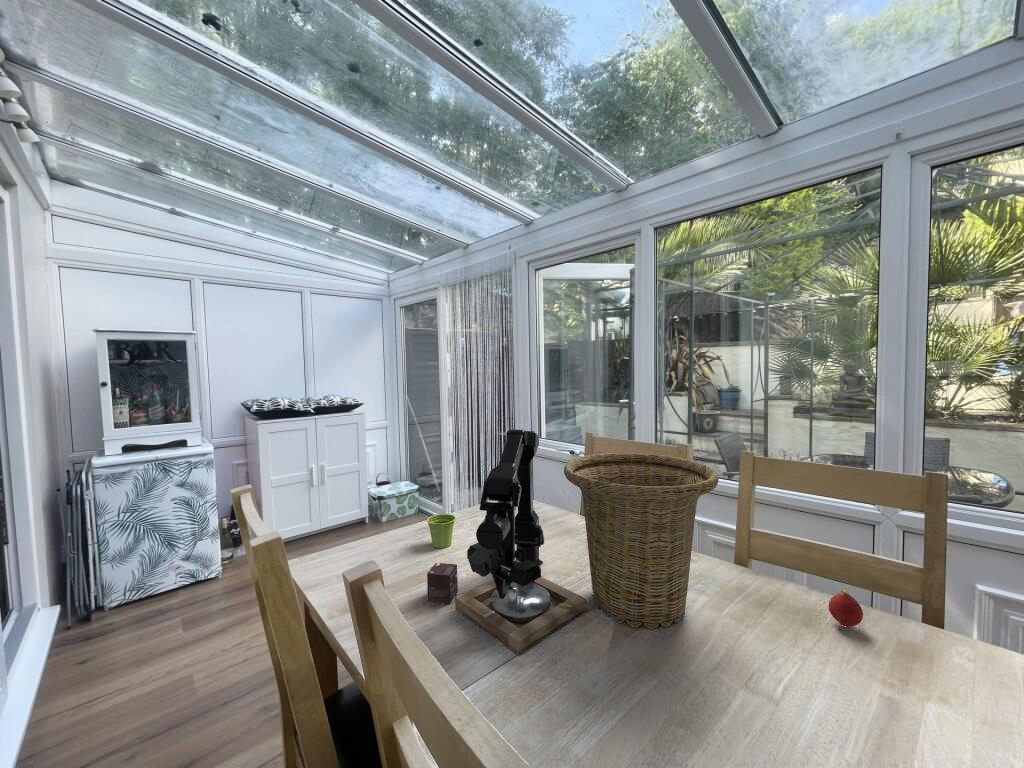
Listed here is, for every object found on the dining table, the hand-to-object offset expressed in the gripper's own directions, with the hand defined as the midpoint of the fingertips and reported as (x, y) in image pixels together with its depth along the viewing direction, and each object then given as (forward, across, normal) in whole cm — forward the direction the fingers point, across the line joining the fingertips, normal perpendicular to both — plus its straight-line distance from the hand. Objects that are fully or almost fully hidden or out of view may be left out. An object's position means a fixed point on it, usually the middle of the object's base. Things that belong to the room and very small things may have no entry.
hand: (502, 598), depth 95 cm
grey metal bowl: (+4, +1, +5) cm, 7 cm away
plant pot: (+6, -44, +15) cm, 47 cm away
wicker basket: (+5, +19, +28) cm, 34 cm away
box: (+6, -18, -4) cm, 19 cm away
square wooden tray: (+5, +1, +6) cm, 8 cm away
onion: (+4, +56, +50) cm, 75 cm away
